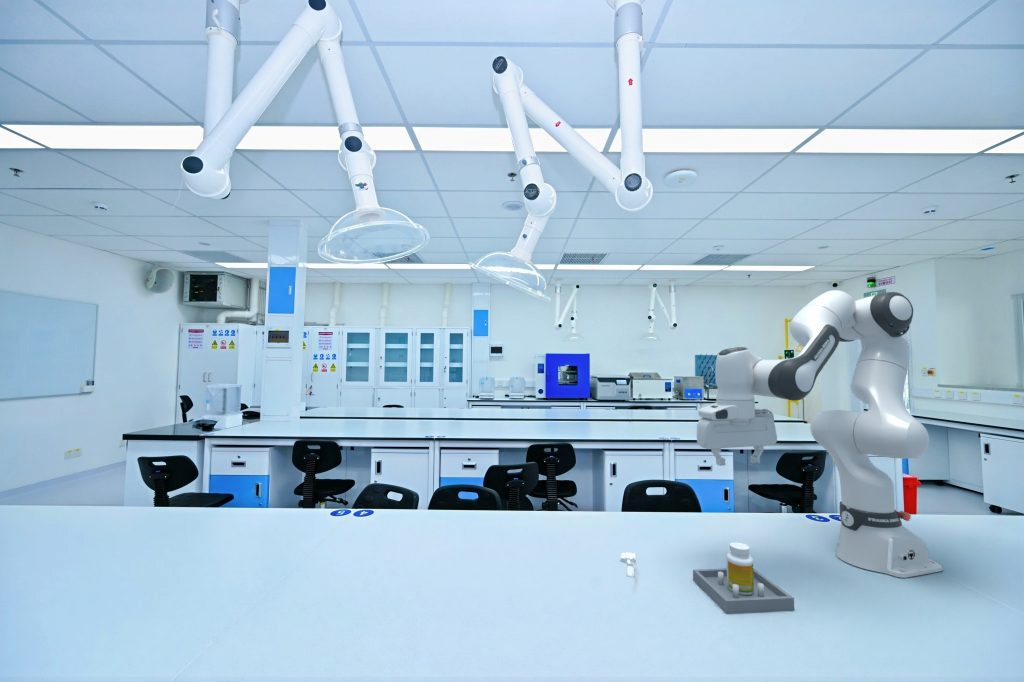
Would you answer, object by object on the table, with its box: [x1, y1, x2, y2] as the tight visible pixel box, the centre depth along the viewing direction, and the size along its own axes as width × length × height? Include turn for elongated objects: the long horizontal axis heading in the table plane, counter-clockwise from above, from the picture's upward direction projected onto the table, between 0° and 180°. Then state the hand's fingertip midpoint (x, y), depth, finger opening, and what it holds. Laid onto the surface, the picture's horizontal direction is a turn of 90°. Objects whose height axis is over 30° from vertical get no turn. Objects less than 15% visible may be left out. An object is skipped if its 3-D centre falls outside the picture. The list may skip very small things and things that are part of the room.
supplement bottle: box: [726, 542, 754, 595], centre depth 100 cm, size 5×5×10 cm
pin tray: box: [692, 567, 795, 614], centre depth 99 cm, size 15×14×4 cm
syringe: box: [619, 551, 638, 582], centre depth 110 cm, size 20×5×2 cm, turn 169°
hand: (738, 464), depth 114 cm, fingers open, 8 cm apart
